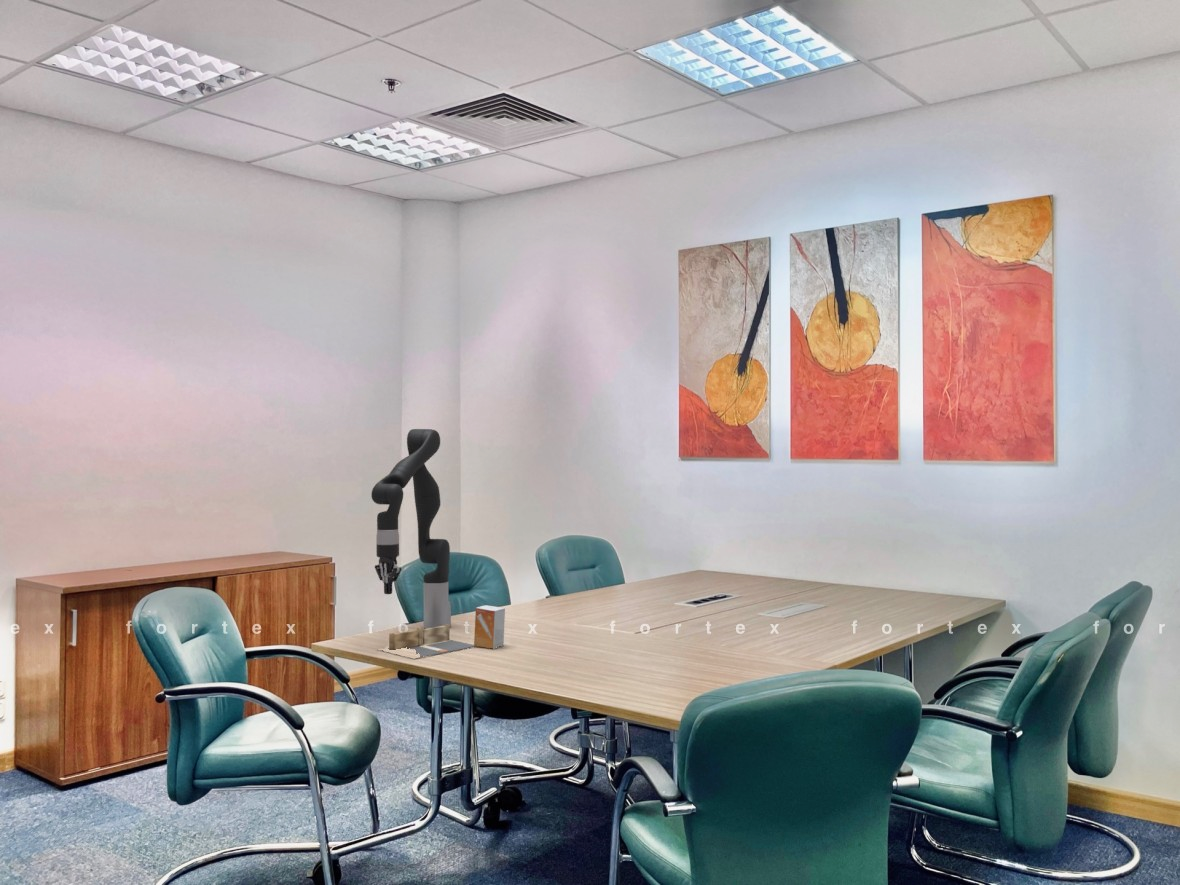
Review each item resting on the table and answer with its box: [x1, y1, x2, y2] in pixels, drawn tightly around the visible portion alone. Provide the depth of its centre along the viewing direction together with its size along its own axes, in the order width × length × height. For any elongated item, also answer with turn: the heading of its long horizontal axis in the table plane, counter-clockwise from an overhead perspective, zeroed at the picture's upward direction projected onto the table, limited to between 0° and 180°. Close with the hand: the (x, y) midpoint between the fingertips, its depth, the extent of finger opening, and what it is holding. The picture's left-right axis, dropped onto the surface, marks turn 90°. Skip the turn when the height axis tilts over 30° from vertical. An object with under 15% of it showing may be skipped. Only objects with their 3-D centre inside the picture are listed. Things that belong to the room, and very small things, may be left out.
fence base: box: [416, 624, 450, 646], centre depth 334 cm, size 13×2×6 cm, turn 136°
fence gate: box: [388, 629, 418, 650], centre depth 325 cm, size 11×2×5 cm, turn 136°
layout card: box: [388, 639, 477, 657], centre depth 327 cm, size 26×21×1 cm
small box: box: [473, 604, 506, 649], centre depth 330 cm, size 8×6×13 cm
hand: (388, 593), depth 329 cm, fingers closed
